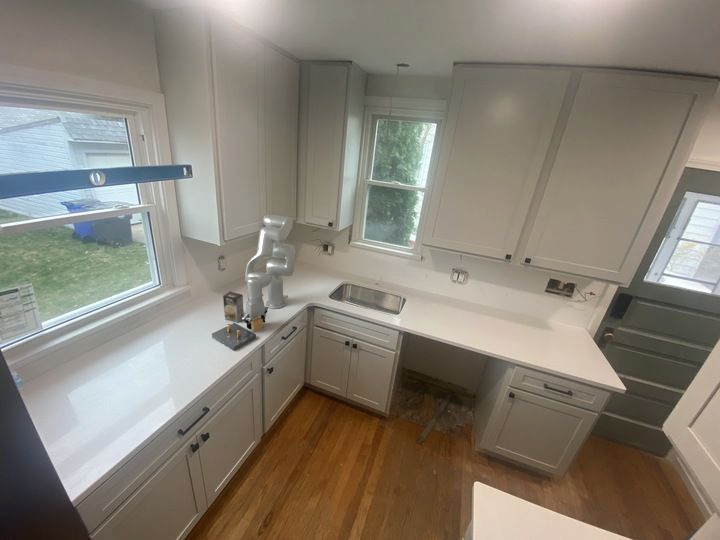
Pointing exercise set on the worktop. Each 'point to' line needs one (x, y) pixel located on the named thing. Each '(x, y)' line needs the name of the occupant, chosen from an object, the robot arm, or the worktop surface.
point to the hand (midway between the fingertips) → (256, 325)
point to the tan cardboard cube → (257, 323)
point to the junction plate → (234, 336)
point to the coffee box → (233, 306)
